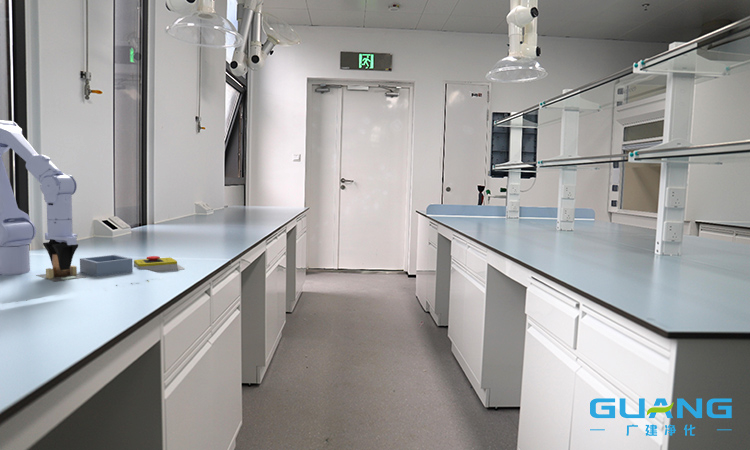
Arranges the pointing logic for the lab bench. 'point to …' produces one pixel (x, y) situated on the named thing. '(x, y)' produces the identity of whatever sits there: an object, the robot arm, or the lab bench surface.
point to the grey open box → (106, 265)
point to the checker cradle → (50, 277)
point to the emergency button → (157, 264)
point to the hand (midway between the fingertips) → (61, 268)
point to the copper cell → (58, 268)
